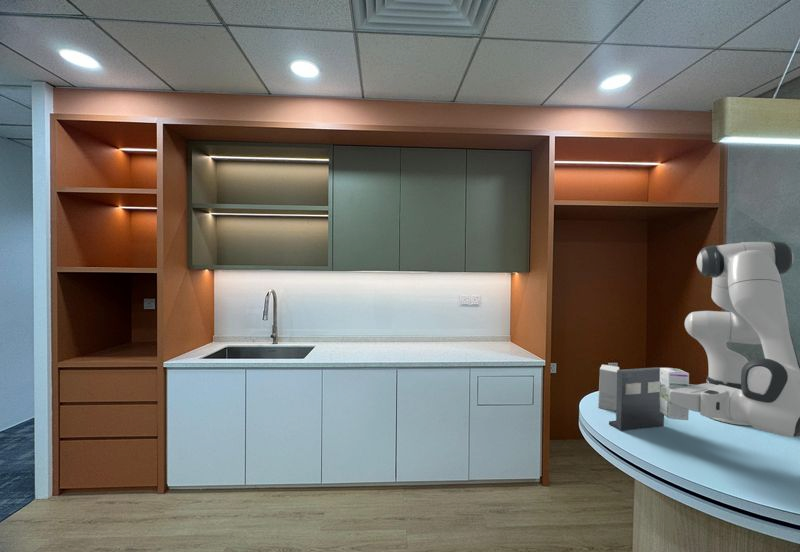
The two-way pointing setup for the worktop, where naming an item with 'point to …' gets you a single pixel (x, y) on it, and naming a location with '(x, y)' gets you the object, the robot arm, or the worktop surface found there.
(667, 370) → the syrup box
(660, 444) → the worktop surface
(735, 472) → the worktop surface
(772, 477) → the worktop surface
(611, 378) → the skincare box
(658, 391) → the label panel
